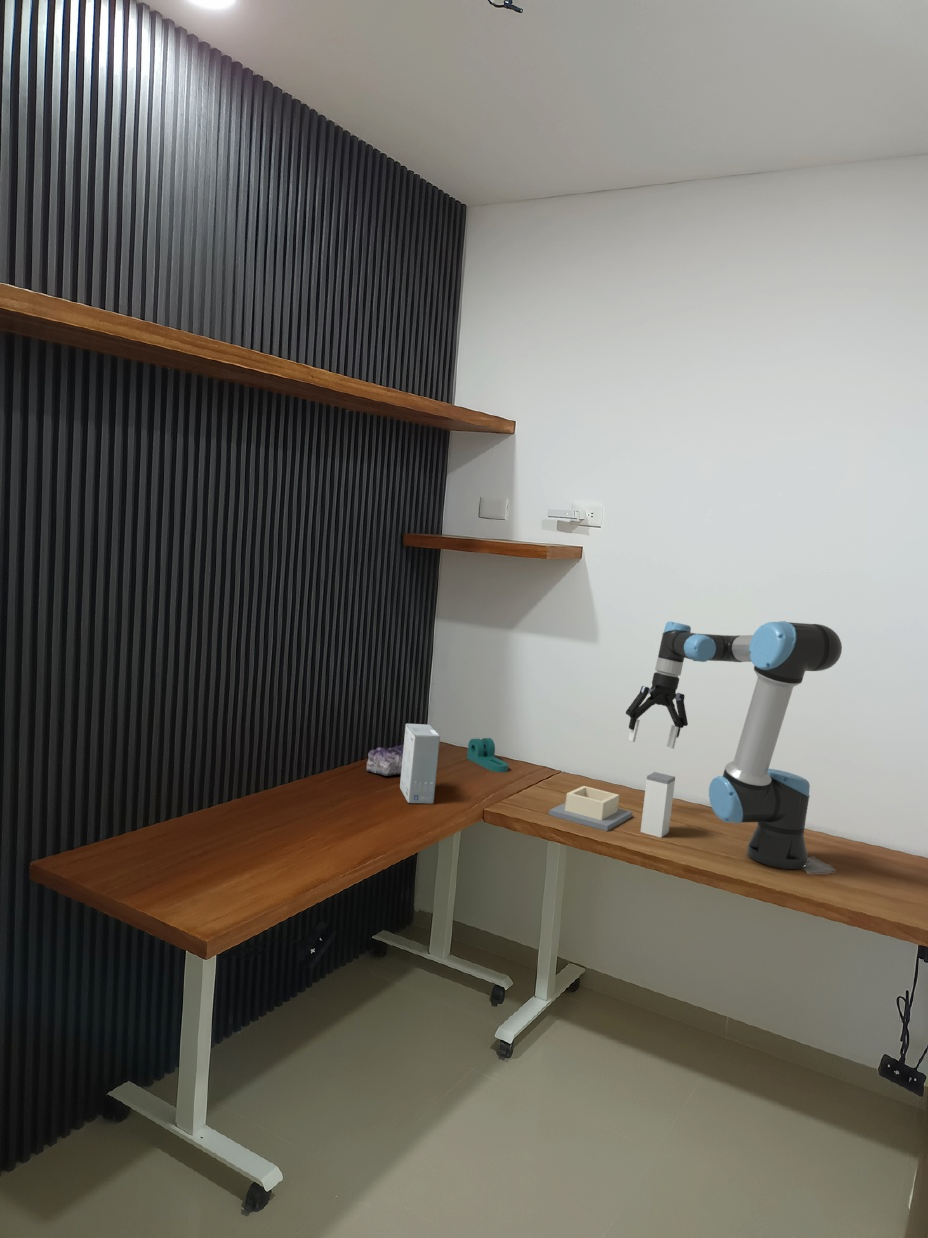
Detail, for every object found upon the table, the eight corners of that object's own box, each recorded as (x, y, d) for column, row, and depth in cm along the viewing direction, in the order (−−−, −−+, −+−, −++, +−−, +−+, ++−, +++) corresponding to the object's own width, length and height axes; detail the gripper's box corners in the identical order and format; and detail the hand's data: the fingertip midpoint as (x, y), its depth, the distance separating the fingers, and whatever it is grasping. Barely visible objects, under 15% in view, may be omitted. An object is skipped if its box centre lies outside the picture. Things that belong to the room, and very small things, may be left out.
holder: (631, 817, 262) (634, 795, 262) (607, 831, 247) (609, 808, 246) (576, 802, 272) (578, 781, 271) (548, 815, 257) (551, 793, 256)
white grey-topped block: (668, 832, 251) (675, 776, 250) (661, 837, 246) (667, 780, 244) (648, 827, 254) (654, 772, 253) (640, 832, 249) (647, 775, 248)
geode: (411, 764, 298) (417, 736, 296) (431, 778, 289) (437, 749, 287) (359, 767, 285) (365, 738, 283) (378, 782, 276) (384, 752, 274)
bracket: (466, 758, 311) (468, 736, 311) (483, 757, 315) (485, 735, 314) (494, 773, 296) (497, 750, 295) (511, 772, 300) (514, 749, 299)
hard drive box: (434, 804, 256) (440, 736, 254) (407, 804, 254) (414, 735, 252) (423, 788, 271) (429, 723, 269) (398, 787, 269) (404, 722, 267)
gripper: (694, 679, 273) (679, 747, 273) (624, 664, 264) (608, 735, 265) (709, 683, 266) (693, 753, 266) (637, 668, 257) (621, 740, 258)
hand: (650, 744), depth 265 cm, fingers open, 13 cm apart
